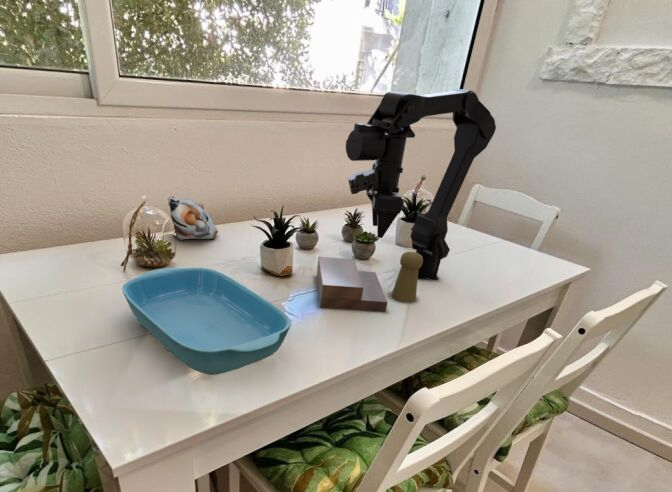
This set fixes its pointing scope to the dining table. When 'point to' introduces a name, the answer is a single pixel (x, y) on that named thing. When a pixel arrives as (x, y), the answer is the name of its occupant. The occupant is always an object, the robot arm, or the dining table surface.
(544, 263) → the dining table surface
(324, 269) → the shelf
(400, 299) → the olive green pawn
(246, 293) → the casserole dish
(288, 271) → the pastry
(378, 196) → the robot arm
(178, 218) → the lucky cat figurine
